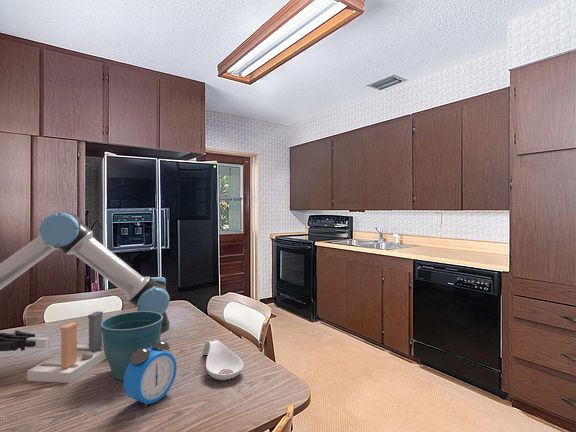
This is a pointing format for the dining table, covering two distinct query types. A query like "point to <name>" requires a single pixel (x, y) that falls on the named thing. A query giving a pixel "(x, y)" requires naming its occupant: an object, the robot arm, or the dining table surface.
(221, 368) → the spoon rest
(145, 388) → the alarm clock
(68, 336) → the terracotta paddle
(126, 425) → the dining table surface
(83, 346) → the console
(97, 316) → the gray capped upright block
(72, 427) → the dining table surface
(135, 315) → the flower pot
